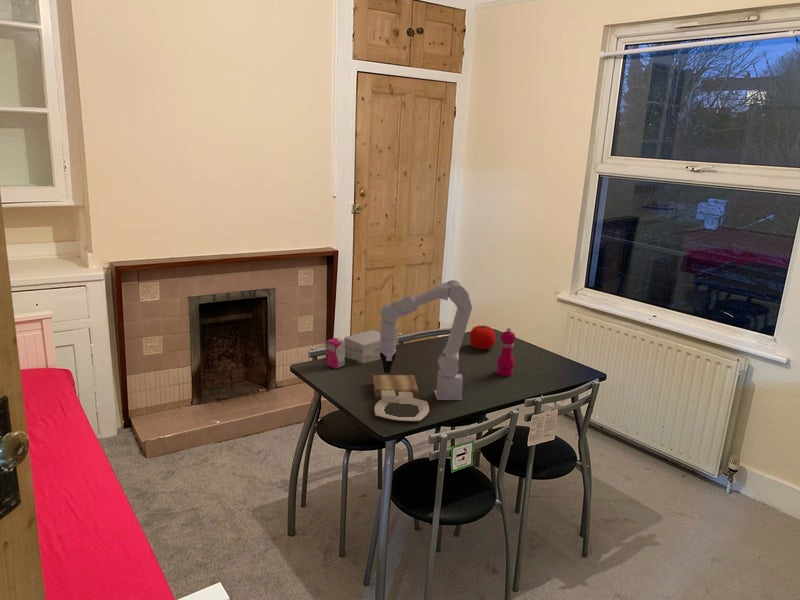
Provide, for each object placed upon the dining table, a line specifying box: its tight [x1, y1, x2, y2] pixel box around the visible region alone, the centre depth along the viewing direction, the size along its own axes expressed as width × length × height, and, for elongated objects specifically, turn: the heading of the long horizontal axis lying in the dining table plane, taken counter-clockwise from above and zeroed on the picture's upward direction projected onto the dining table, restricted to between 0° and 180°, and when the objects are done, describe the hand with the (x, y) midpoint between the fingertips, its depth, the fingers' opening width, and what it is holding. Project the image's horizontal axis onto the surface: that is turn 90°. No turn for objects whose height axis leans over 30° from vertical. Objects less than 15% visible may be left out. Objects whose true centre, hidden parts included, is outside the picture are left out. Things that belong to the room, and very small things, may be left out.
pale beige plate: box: [373, 396, 430, 422], centre depth 212 cm, size 19×19×2 cm
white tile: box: [398, 392, 413, 404], centre depth 217 cm, size 5×5×2 cm
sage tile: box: [380, 390, 396, 402], centre depth 218 cm, size 5×5×2 cm
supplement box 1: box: [325, 337, 346, 370], centre depth 250 cm, size 6×6×12 cm
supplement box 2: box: [343, 329, 381, 364], centre depth 263 cm, size 17×13×9 cm
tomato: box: [469, 325, 496, 350], centre depth 279 cm, size 12×13×11 cm
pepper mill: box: [496, 327, 517, 377], centre depth 249 cm, size 7×7×20 cm
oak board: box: [372, 374, 419, 399], centre depth 229 cm, size 16×14×4 cm
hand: (386, 372), depth 221 cm, fingers closed
